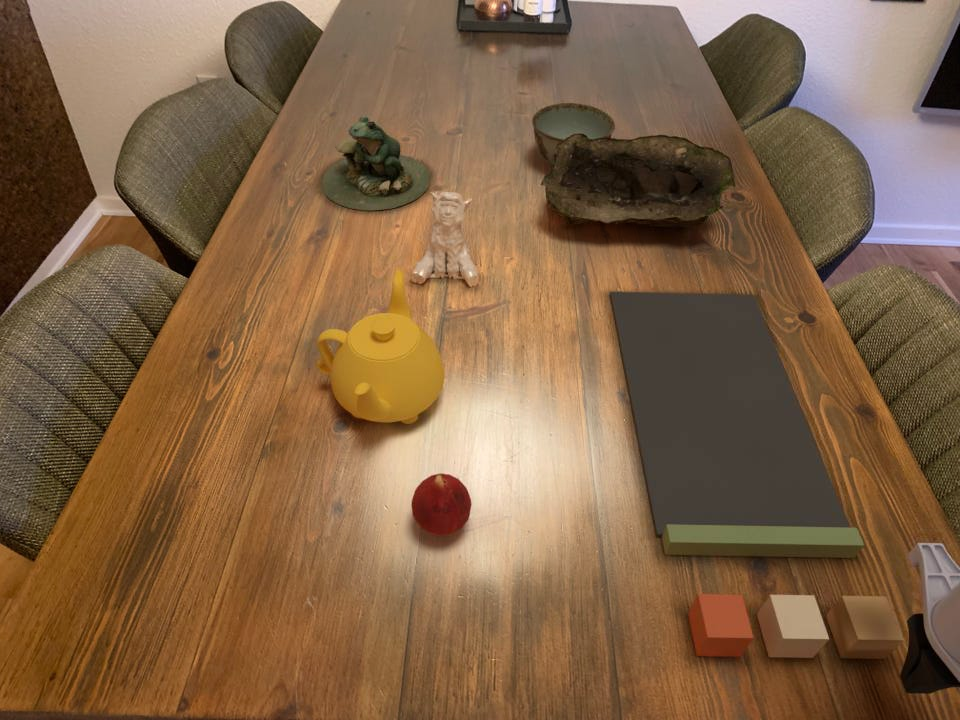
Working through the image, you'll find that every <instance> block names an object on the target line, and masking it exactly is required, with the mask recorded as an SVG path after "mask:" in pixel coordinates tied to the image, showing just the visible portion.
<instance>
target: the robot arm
mask: <svg viewBox="0 0 960 720" xmlns="http://www.w3.org/2000/svg"><path fill="white" fill-rule="evenodd" d="M906 557H907V559H908V562H909V564H910V565H911V566H912V567H913V568H919V574H920V587H921V589H920V590H921V602H922V613H914V614H912V615H911V616H909V617H908V619H907V620H906V625H907V629H908V631H907V632H908V647H907V652H906V655H905V659H904V663H903V665H902V668H901V671H900V673H899V679H900V681H901V683H902V686H903V689H904V691H905V693H907V694H919V695H921V694H923V695H924V694H925V695H926V694H927V695H928V694H929V695H930V694H933V693H935V692H939V691H942V690H946V689H949V688H950V689H952V688H960V566H959V565H958V564H957V563H956V561H955V560H954V559H953V558H952V556H951V555H950V553H949V552H948V550H947V548H946V547H945V545H944V543H942V542H917V543H916V544H915V545H914V546H913V548H911V549H910V551H909V552H908V553H907V554H906Z"/></svg>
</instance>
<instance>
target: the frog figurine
mask: <svg viewBox="0 0 960 720" xmlns="http://www.w3.org/2000/svg"><path fill="white" fill-rule="evenodd" d="M347 132H348V135H349V136H350V137H351V138H352V139H351V138H347V139H343V140H340V142H338V143H337V144H336V146H335V149H336V150H337V152H338V153H341V154H342V157H345V158H344V159H342V160H340V161H339V162H336V163H335V164H334V165H332V166H331V167H329V168H328V169H327V171H326V172H325V173H324V175H323V177H322V179H321V183H320V184H321V189H322V191H323V193H324V195H325V197H326V198H328V199H329V200H330V201H332V202H333V203H335V204H337V205H339V206H341V207H344V208H348V209H352V210H357V211H382V210H383V211H384V210H391V209H395V208H399V207H403V206H404V205H407V204H410V203H411V202H413V201H415V200H417V199H418V198H420V197H421V196H422V195H423V194H424V193H425V192H426V191H427V190H428V189H429V188H430V185H431V175H430V172H429V170H428V168H427V167H426V166H425V165H424V164H423V163H421V162H420V161H418V160H417V159H414V158H412V157H411V156H406V155H403V154H401V152H402V151H401V144H400V142H399V140H397V139H396V138H395V137H392V136H391V135H388V134H387V133H386V131H384V129H383V128H382V127H381V126H379V125H378V124H376V122H375V121H374V120H372V119H369V118H368V117H367V116H366V115H362V116H361V117H360V118H359V121H358V122H357V123H354V124H352V125H351V126H350V127H349V129H348V131H347Z"/></svg>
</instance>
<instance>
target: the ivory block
mask: <svg viewBox="0 0 960 720" xmlns="http://www.w3.org/2000/svg"><path fill="white" fill-rule="evenodd" d="M818 605H819V604H818V603H817V599H816V597H815V595H813V594H812V595H811V594H769V596H768V597H767V598H766V600H765V601H764V603H763V605H762V606H761V607H760V609H759V610H758V612H757V614H756V617H757V621H758V624H759V628H760V631H761V634H762V635H761V636H762V638H763V641H764V646H765V649H766V653H767V656H768V658H786V659H787V658H789V659H790V658H792V659H793V658H797V659H798V658H799V659H813V658H815V656H816V655H817V654H818V653H819V652H820V650H822V648H823V647H824V646H825V645H826V643H828V641H829V640H830V638H829V634H828V630H827V628H826V625H825V622H824V619H823V616H822V614H821V610H820V608H819V606H818Z"/></svg>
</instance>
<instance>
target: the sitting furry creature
mask: <svg viewBox="0 0 960 720" xmlns="http://www.w3.org/2000/svg"><path fill="white" fill-rule="evenodd" d="M429 194H430V195H431V197H432V200H433V206H432V207H431V212H432V214H433V219H434V220H435V222H434V223H433V227H432V229H431V230H430V233H429V234H430V238H429V241H428V245H427V246H426V250H425V253H424V255H423V256H422V257H421V258H420V259H419V261H417V262H416V263H415V267H414V268H413V270H412V271H411V273H410V279H411V281H412V282H413V283H414V284H417V285H419V286H420V285H422V284H424V283H425V282H426V281H427V279H440V278H441V280H442V279H445V277H448V279H449V280H451V279H452V280H465V282H466V284H467V285H468V286H469V287H470V288H473V287H476V286H477V285H478V284H479V281H480V279H479V278H480V277H479V274H480V271H479V270H478V268H477V267H478V266H477V265H475V263H474V262H473V259H472V256H471V255H470V252H471V251H470V249H469V247H468V243H466V239H465V234H464V229H463V227H462V224H461V222H463V221H465V219H466V218H465V217H466V216H465V215H466V212H467V210H468V209H469V207H470V204H471V201H472V200H473V198H474V197H473V198H472V197H470V198H467V199H466V200H464V199H463V196H462V195H461V194H460V193H458V192H456V191H454V192H453V191H451V192H450V191H441V192H440V193H439V194H437V193H435V192H433V191H429ZM446 272H447V273H446Z"/></svg>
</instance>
